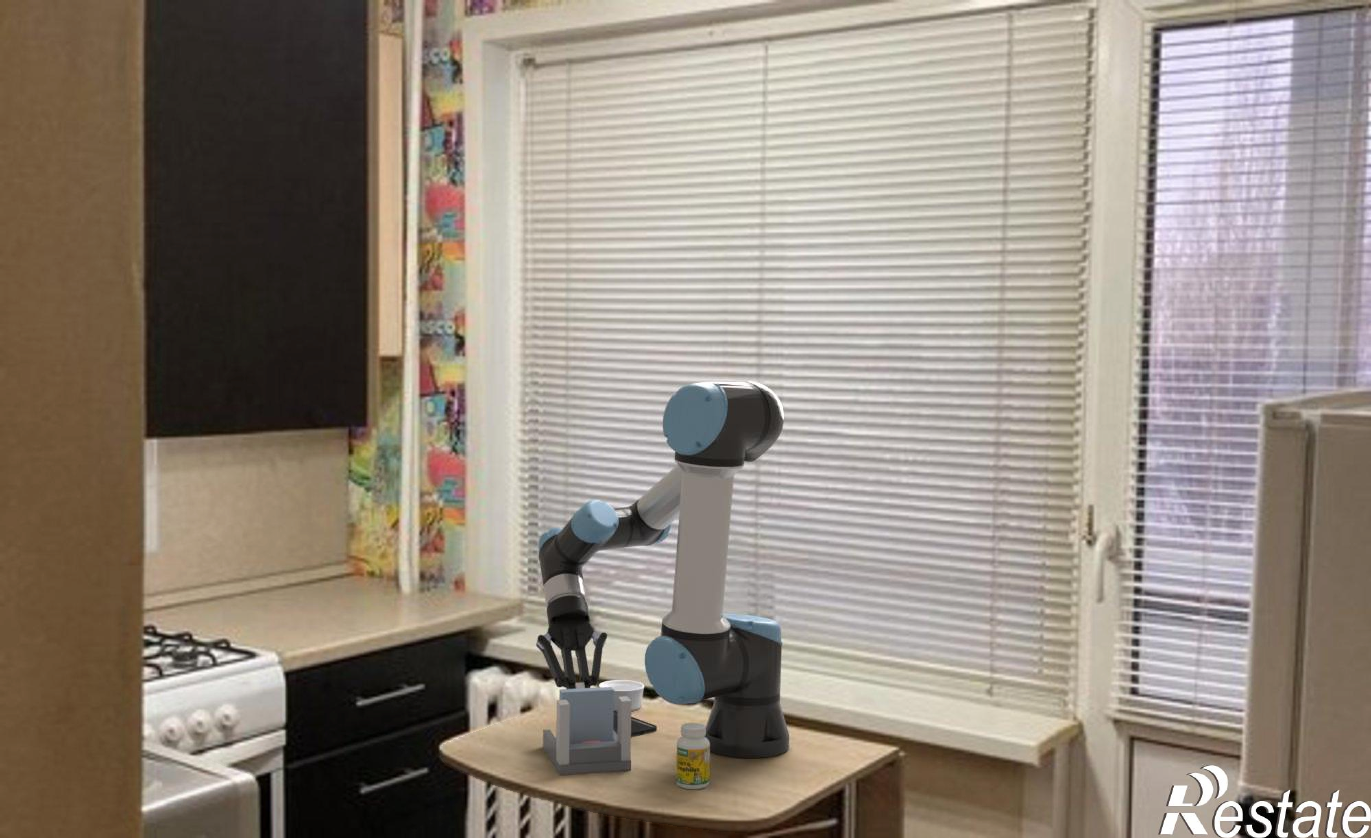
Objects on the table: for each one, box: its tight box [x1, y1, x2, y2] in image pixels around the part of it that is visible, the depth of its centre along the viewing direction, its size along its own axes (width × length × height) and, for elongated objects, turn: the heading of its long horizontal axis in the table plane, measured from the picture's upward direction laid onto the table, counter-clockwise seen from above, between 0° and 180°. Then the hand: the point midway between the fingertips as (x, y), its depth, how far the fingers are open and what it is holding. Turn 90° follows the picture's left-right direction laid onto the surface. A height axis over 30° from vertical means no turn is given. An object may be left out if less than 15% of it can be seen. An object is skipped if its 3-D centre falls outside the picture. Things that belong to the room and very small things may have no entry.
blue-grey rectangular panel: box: [558, 686, 614, 744], centre depth 233 cm, size 2×9×10 cm, turn 106°
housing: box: [542, 696, 632, 776], centre depth 233 cm, size 16×12×12 cm
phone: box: [613, 711, 658, 738], centre depth 254 cm, size 8×1×15 cm
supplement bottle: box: [675, 722, 711, 790], centre depth 220 cm, size 5×5×10 cm
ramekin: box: [598, 679, 645, 712], centre depth 267 cm, size 9×9×4 cm
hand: (583, 719), depth 236 cm, fingers closed
